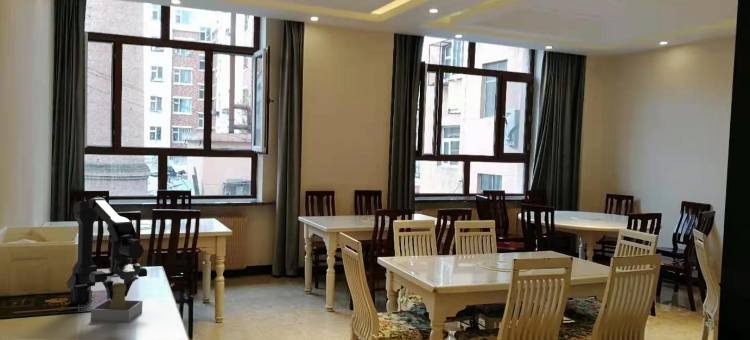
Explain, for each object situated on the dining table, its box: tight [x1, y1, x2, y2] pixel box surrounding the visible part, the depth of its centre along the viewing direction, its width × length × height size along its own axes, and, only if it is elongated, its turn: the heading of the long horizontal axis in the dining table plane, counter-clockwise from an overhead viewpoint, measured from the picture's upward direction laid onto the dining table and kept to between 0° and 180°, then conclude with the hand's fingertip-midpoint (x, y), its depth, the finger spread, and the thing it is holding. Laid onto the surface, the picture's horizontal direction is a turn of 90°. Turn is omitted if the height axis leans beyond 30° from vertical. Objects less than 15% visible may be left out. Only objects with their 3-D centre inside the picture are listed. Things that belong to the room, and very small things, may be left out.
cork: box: [109, 282, 126, 310], centre depth 199 cm, size 6×6×11 cm
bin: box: [90, 299, 143, 324], centre depth 200 cm, size 13×13×4 cm
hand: (117, 297), depth 199 cm, fingers open, 5 cm apart
